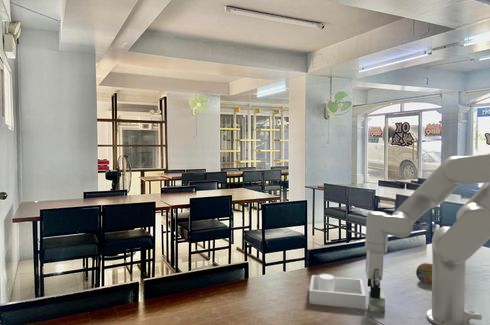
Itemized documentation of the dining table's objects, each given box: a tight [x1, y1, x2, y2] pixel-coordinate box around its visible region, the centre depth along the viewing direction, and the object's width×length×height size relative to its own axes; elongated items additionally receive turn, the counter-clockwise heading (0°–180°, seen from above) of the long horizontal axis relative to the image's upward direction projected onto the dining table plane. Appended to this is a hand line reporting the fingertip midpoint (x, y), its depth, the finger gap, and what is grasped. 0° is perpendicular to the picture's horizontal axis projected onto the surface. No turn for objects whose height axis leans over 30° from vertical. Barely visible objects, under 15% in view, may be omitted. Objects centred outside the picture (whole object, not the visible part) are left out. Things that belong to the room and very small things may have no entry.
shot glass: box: [317, 273, 337, 292], centre depth 136 cm, size 7×7×7 cm
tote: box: [308, 274, 367, 310], centre depth 135 cm, size 20×16×5 cm
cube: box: [368, 291, 386, 313], centre depth 125 cm, size 5×5×5 cm
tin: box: [415, 262, 432, 285], centre depth 147 cm, size 15×3×8 cm, turn 62°
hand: (373, 292), depth 126 cm, fingers open, 9 cm apart
